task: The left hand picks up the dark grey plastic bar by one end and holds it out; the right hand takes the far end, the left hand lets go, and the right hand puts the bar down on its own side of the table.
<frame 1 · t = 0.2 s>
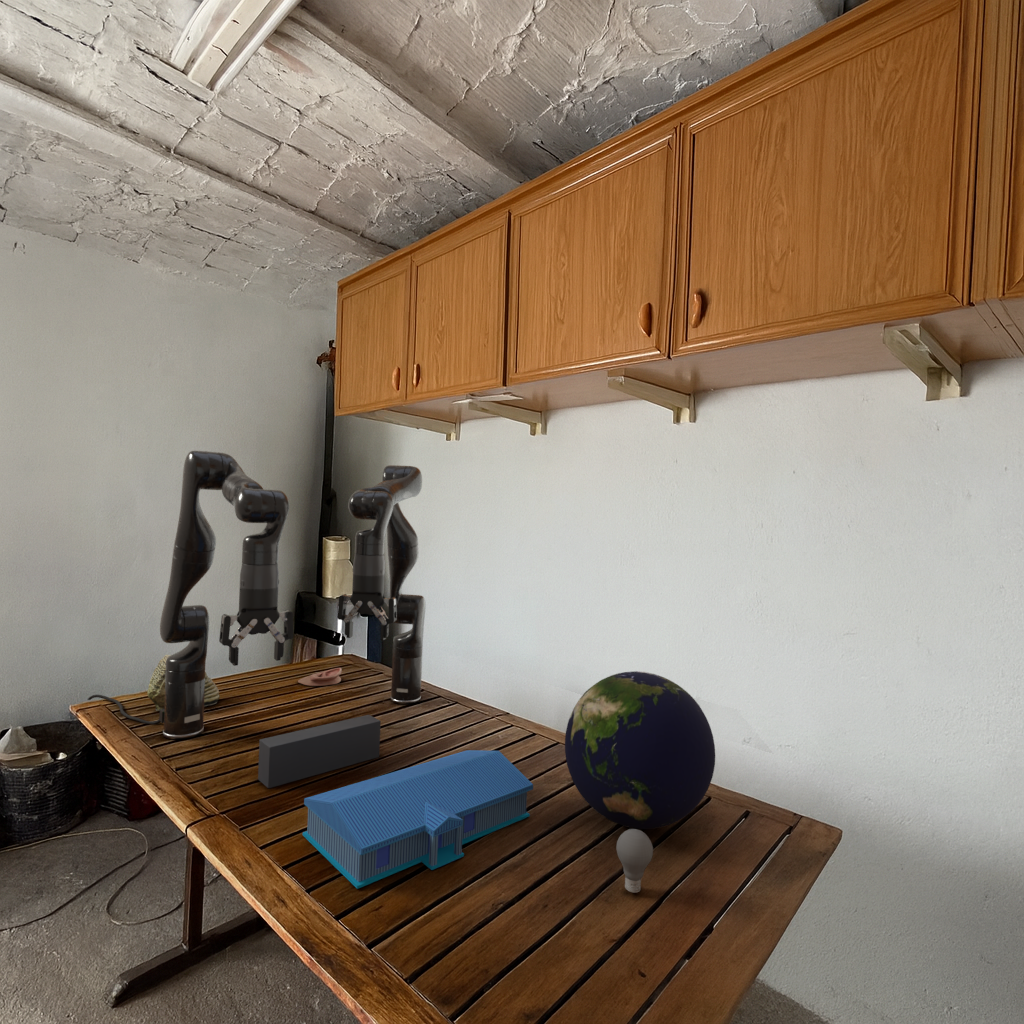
left hand: (256, 662, 132), 28 cm above the table, tool pointing down, fingers open, 8 cm apart
right hand: (366, 638, 155), 29 cm above the table, tool pointing down, fingers open, 8 cm apart
globe: (634, 821, 129), on the table
fossil: (183, 706, 185), on the table
anatomical model: (319, 681, 215), on the table
bar: (321, 767, 148), on the table
model building: (425, 828, 123), on the table
light bulb: (632, 891, 106), on the table
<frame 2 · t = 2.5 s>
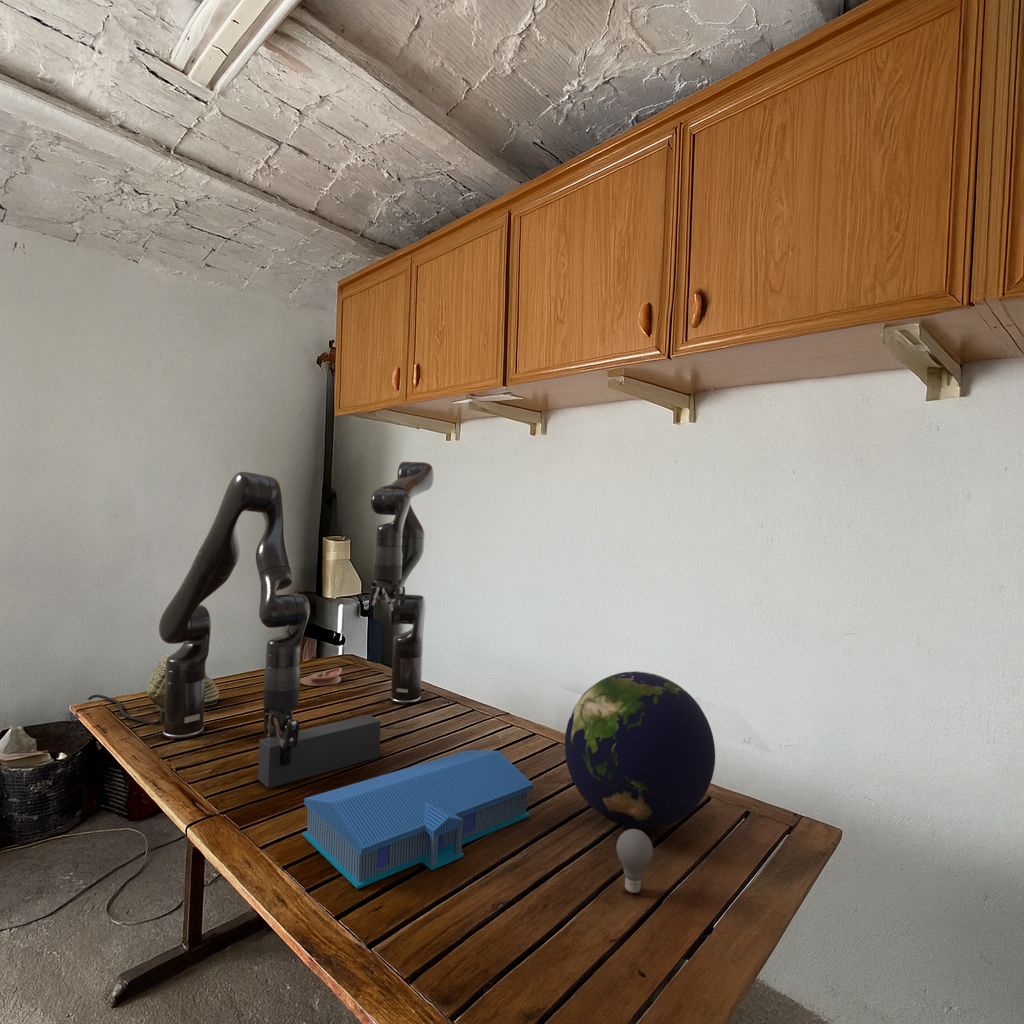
left hand: (279, 759, 141), 5 cm above the table, tool pointing down, fingers closed on bar, 5 cm apart
right hand: (385, 621, 172), 30 cm above the table, tool pointing down, fingers open, 8 cm apart
bar: (321, 767, 148), on the table, touching left hand
everything else where it was.
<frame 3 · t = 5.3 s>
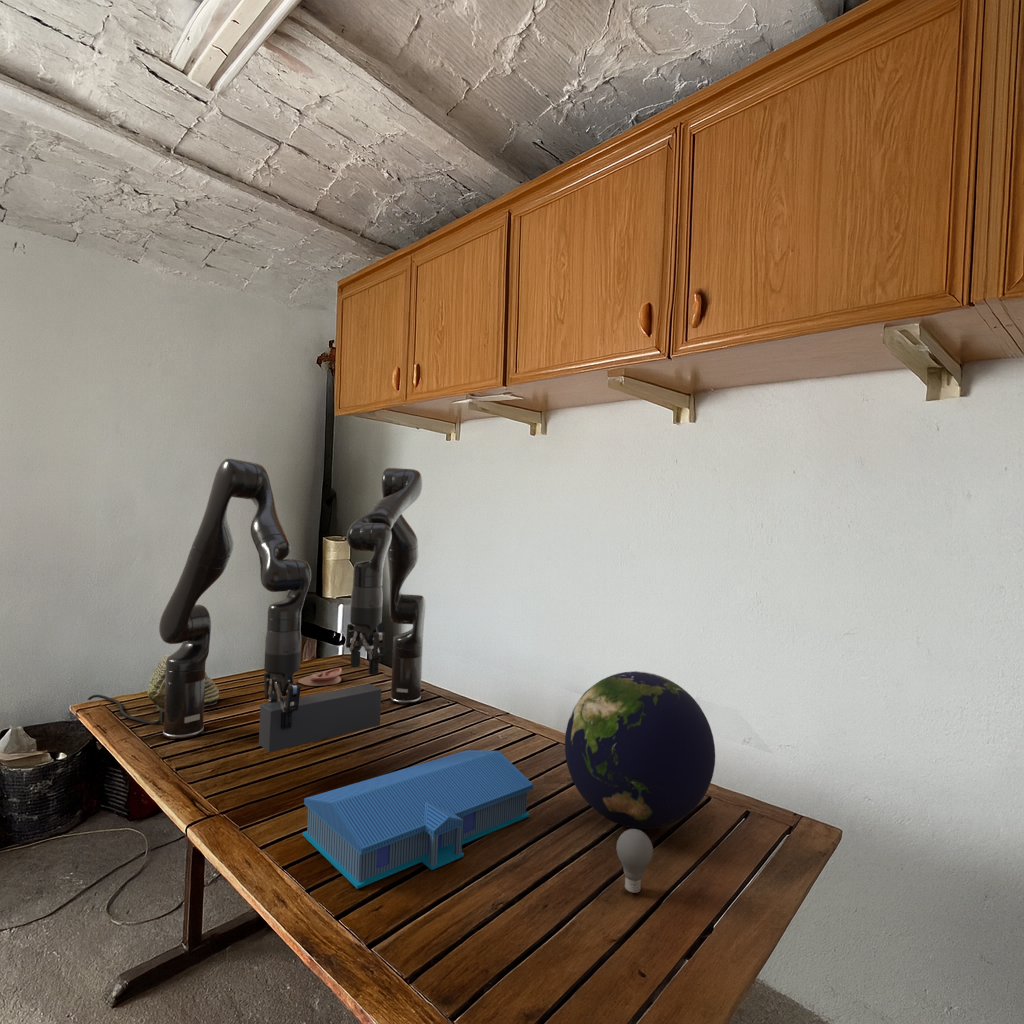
left hand: (280, 724, 141), 12 cm above the table, tool pointing down, fingers closed on bar, 5 cm apart
right hand: (363, 670, 155), 21 cm above the table, tool pointing down, fingers open, 8 cm apart
bar: (322, 734, 148), point 8 cm above the table, touching left hand
everything else where it was.
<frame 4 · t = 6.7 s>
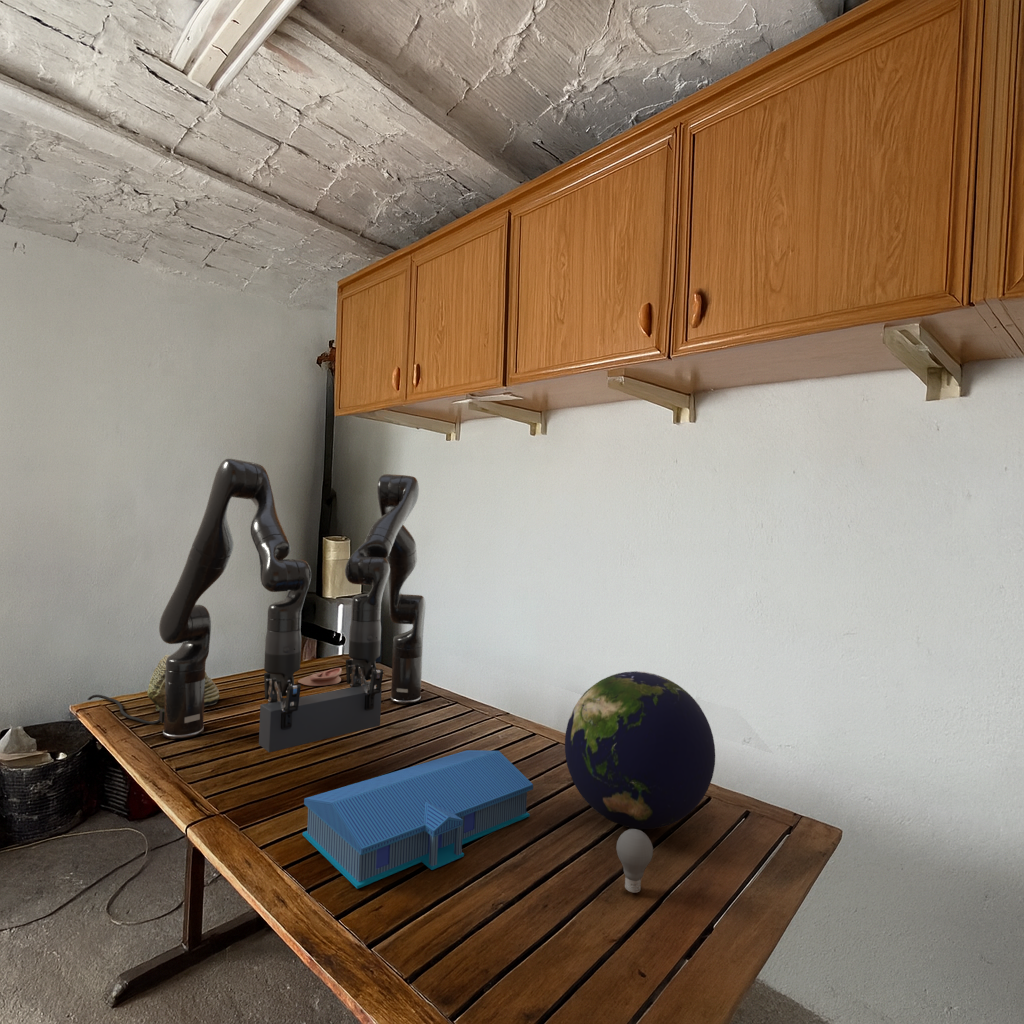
left hand: (280, 724, 141), 12 cm above the table, tool pointing down, fingers closed on bar, 5 cm apart
right hand: (362, 706, 155), 13 cm above the table, tool pointing down, fingers closed on bar, 5 cm apart
bar: (322, 734, 148), point 8 cm above the table, touching left hand, right hand
everything else where it was.
when the left hand's fingers open (12 cm above the table, at t = 8.0 s): bar moves 1 cm, held by the right hand.
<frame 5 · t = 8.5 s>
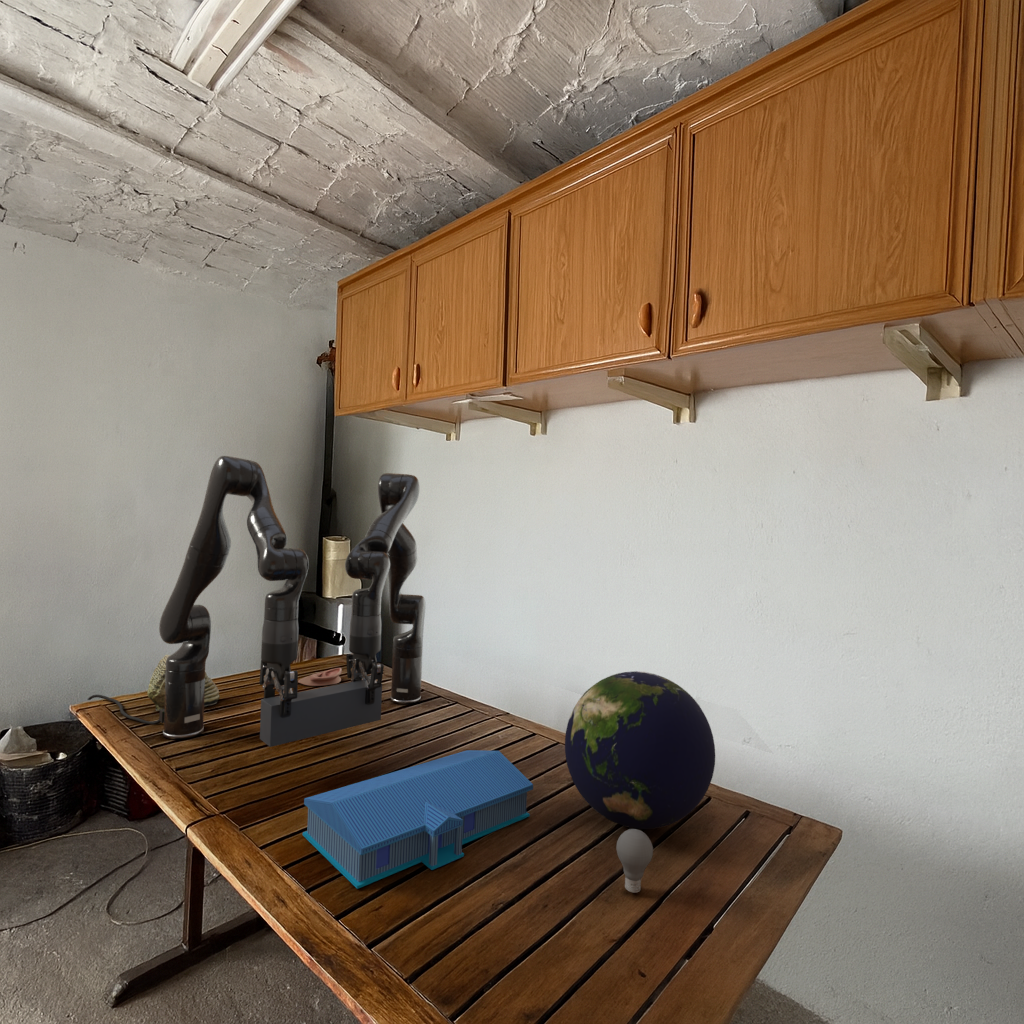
left hand: (276, 711, 140), 15 cm above the table, tool pointing down, fingers open, 8 cm apart
right hand: (363, 700, 155), 14 cm above the table, tool pointing down, fingers closed on bar, 5 cm apart
bar: (323, 729, 148), point 9 cm above the table, touching right hand
everything else where it was.
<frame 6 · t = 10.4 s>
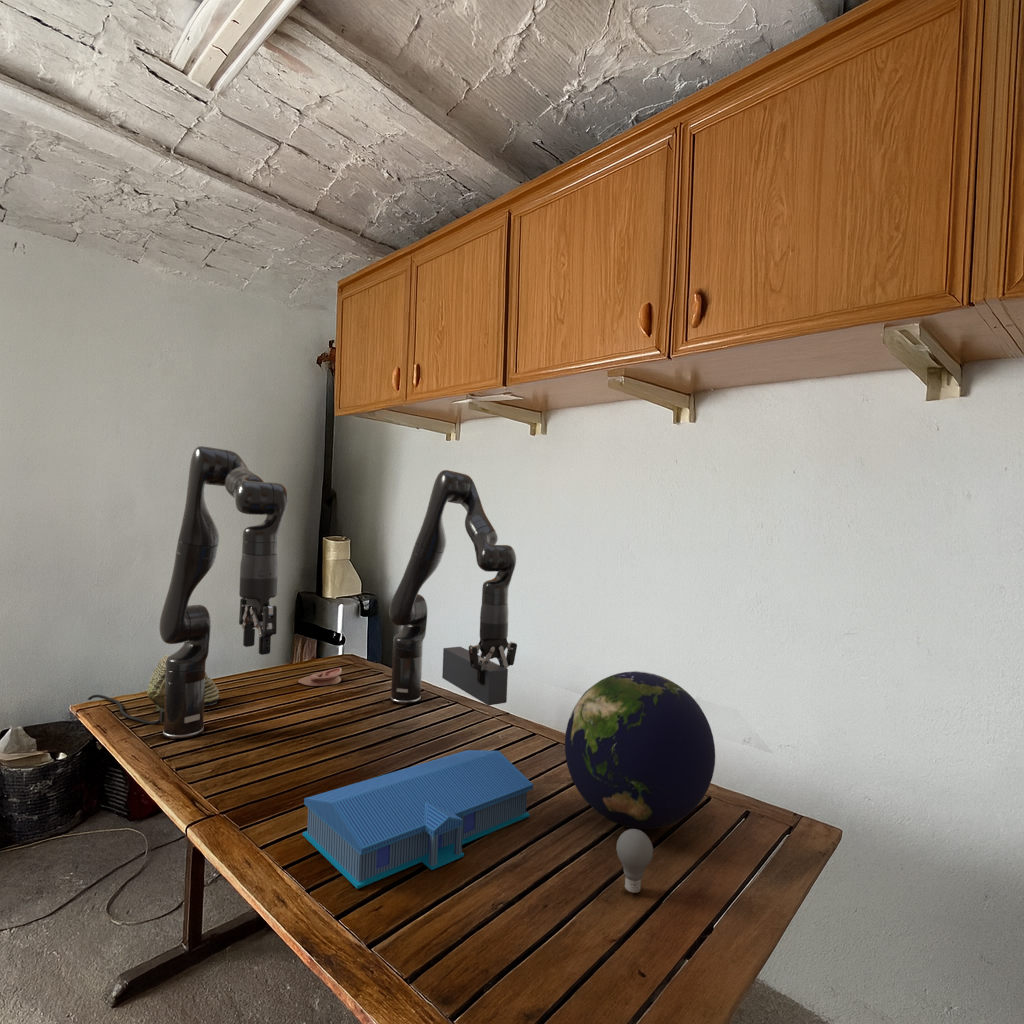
left hand: (256, 650, 136), 30 cm above the table, tool pointing down, fingers open, 8 cm apart
right hand: (491, 682, 169), 16 cm above the table, tool pointing down, fingers closed on bar, 5 cm apart
bar: (472, 689, 178), point 11 cm above the table, touching right hand
everything else where it was.
when the right hand's fingers open (6 cm above the table, at t = 12.1 s): bar drops 1 cm, on the table.
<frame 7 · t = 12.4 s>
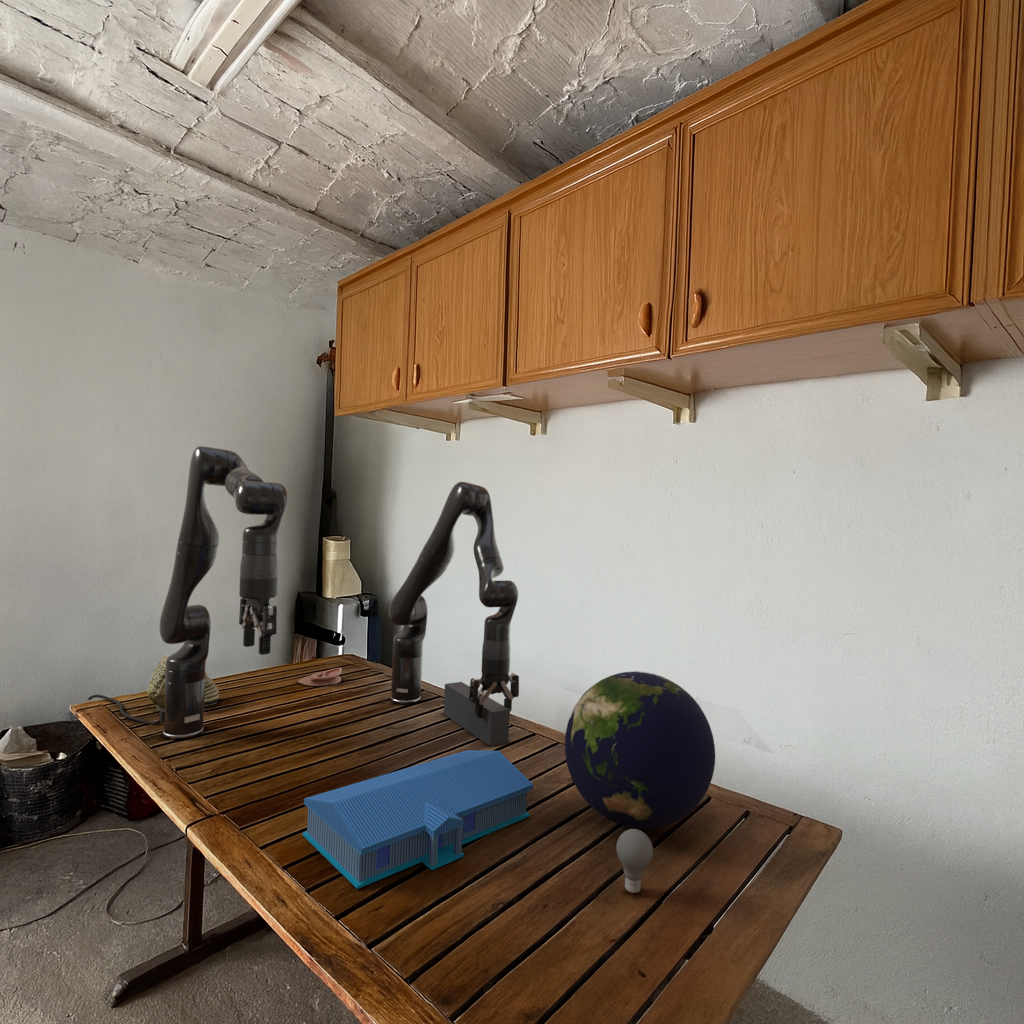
left hand: (256, 650, 136), 30 cm above the table, tool pointing down, fingers open, 8 cm apart
right hand: (493, 715, 170), 7 cm above the table, tool pointing down, fingers open, 8 cm apart
bar: (474, 727, 178), on the table
everything else where it was.
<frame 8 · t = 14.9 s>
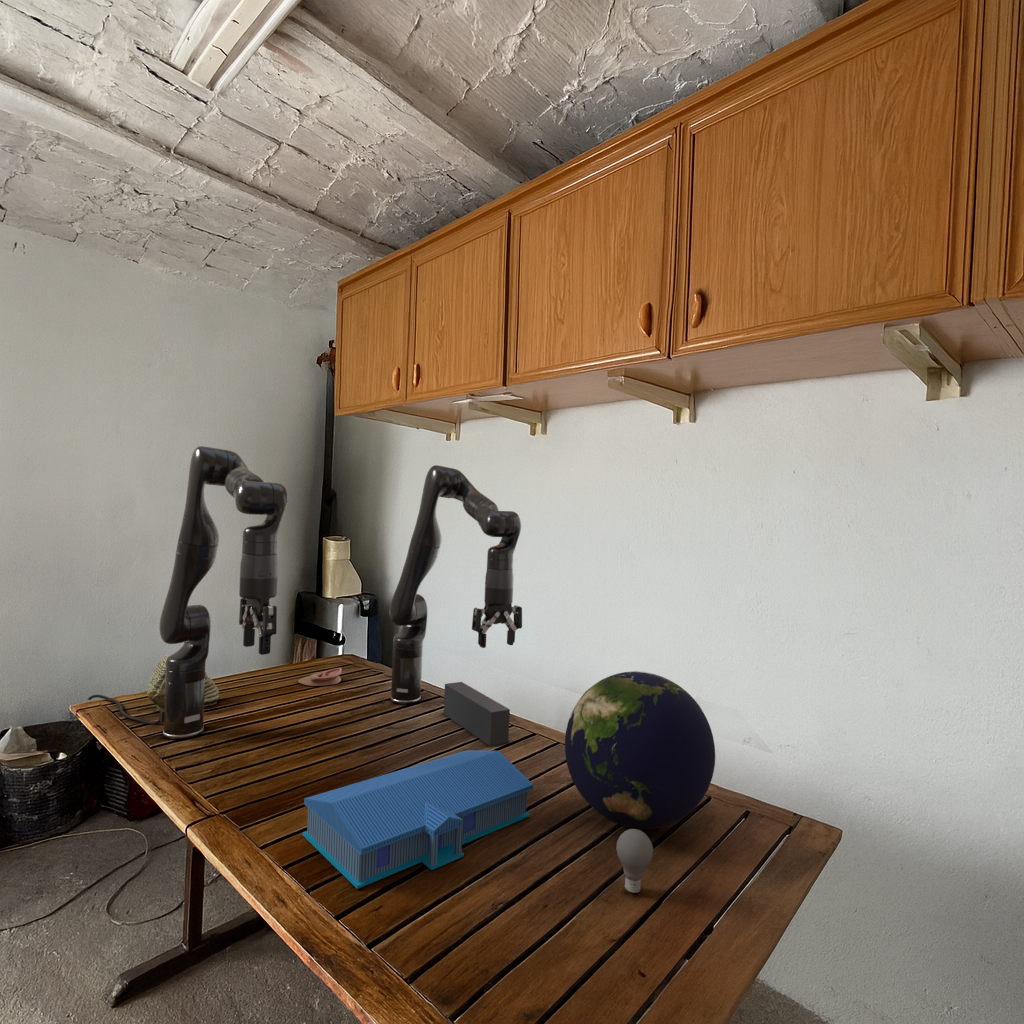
left hand: (256, 650, 136), 30 cm above the table, tool pointing down, fingers open, 8 cm apart
right hand: (496, 645, 169), 25 cm above the table, tool pointing down, fingers open, 8 cm apart
nothing on the table moved.
at the end: bar inside the target area (10.1 cm from its centre), on the table; the left hand is holding nothing; the right hand is holding nothing; bar at rest at the end (0.0 cm/s) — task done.
